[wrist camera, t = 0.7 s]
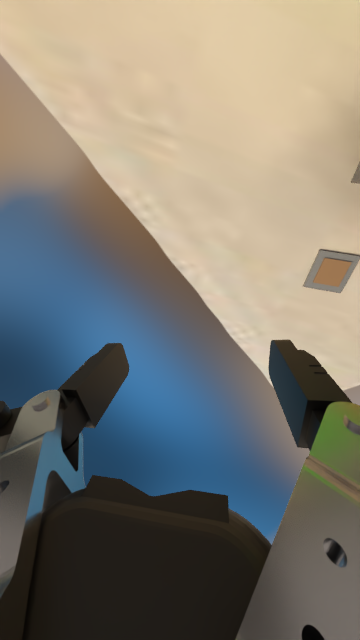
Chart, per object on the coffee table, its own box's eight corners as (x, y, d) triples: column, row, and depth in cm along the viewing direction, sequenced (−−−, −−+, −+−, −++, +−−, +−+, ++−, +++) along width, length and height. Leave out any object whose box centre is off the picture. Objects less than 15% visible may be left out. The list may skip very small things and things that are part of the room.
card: (319, 250, 29) (321, 250, 28) (359, 256, 28) (362, 256, 28) (302, 286, 31) (304, 287, 31) (338, 292, 31) (341, 293, 30)
